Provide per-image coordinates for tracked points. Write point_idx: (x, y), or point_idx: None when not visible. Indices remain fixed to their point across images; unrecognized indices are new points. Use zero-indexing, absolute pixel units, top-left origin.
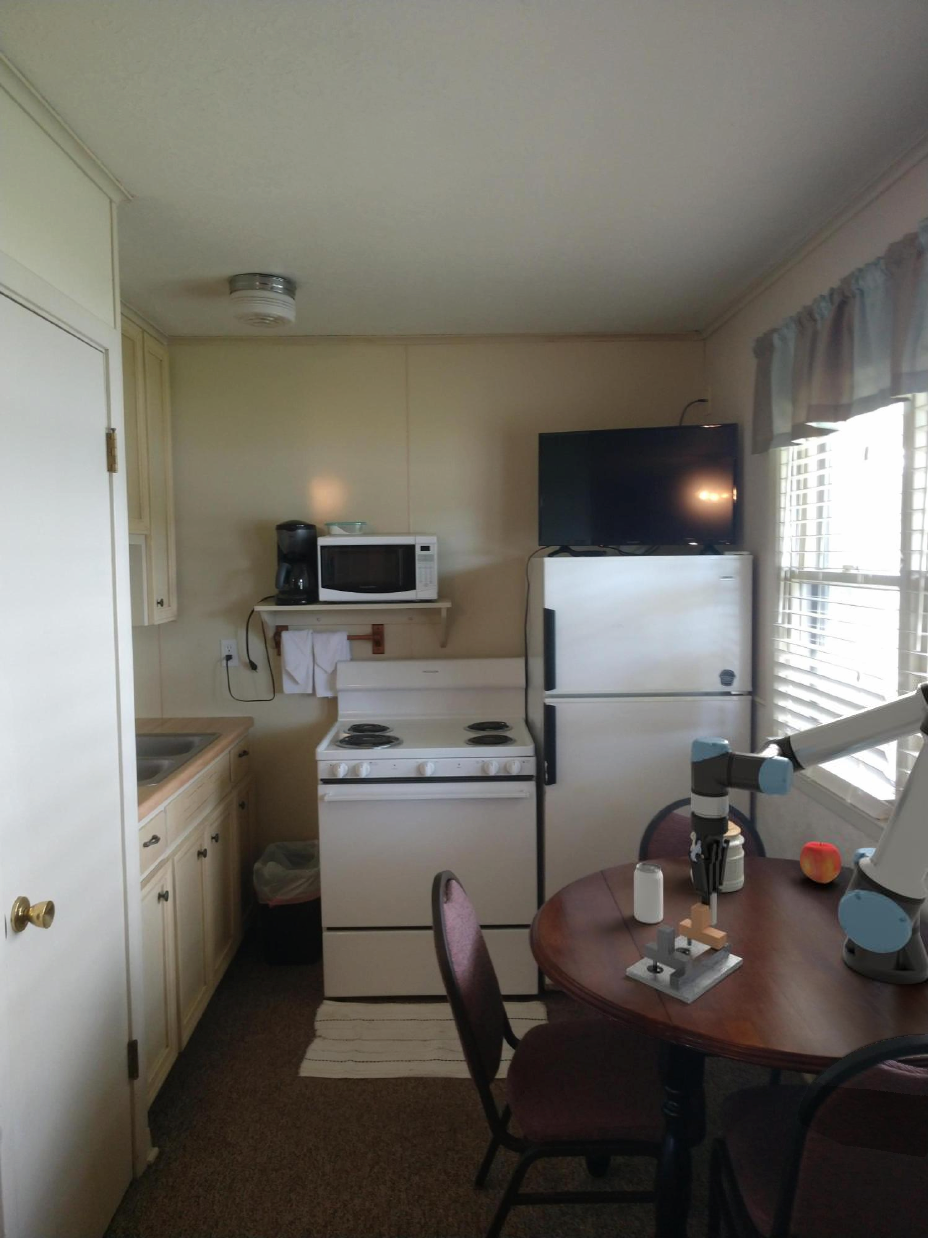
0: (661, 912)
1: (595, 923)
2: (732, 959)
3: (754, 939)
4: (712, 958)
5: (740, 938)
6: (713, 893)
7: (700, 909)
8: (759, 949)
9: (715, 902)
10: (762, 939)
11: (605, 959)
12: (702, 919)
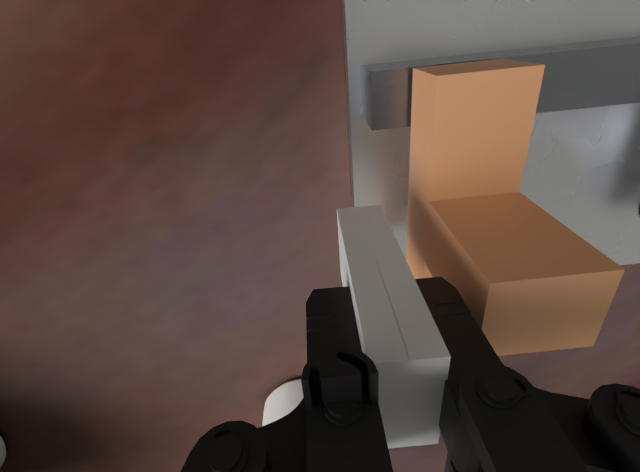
0: (297, 404)
1: (443, 441)
2: (390, 26)
3: (83, 111)
4: (560, 49)
5: (139, 158)
6: (402, 377)
7: (601, 289)
8: (136, 31)
9: (377, 296)
10: (42, 85)
11: (621, 330)
12: (557, 229)
